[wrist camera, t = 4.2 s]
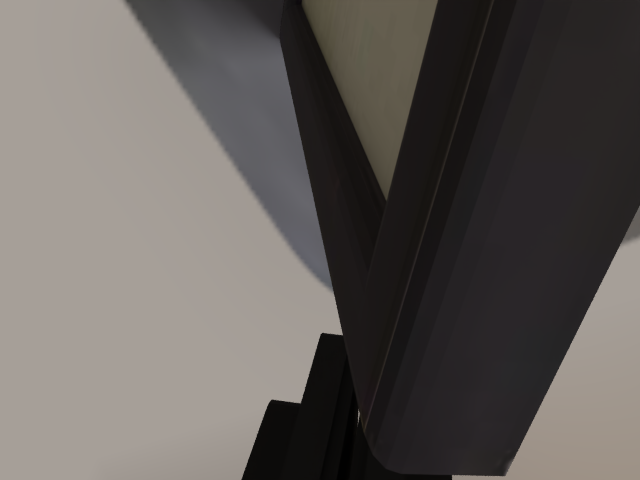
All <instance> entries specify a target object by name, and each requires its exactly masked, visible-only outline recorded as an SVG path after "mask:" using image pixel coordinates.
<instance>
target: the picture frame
mask: <svg viewBox="0 0 640 480" xmlns="http://www.w3.org/2000/svg"><path fill="white" fill-rule="evenodd" d="M280 43H281V47H282V52H283V57H284V61H285V66H286V71H287V76H288V80H289V85H290V90H291V94H292V99H293V104H294V108H295V113H296V118H297V122H298V127H299V132H300V136H301V141H302V146H303V150H304V155H305V160H306V164H307V169H308V174H309V178H310V183H311V188H312V192H313V197H314V202H315V207H316V211H317V216H318V221H319V225H320V230H321V235H322V239H323V244H324V249H325V253H326V258H327V263H328V267H329V272H330V277H331V281H332V286H333V291H334V295H335V300H336V305H337V309H338V314H339V318H340V324H341V328H342V333H343V338H344V342H345V347H346V352H347V356H348V361H349V366H350V370H351V375H352V380H353V384H354V389H355V394H356V398H357V403H358V408H359V412H360V417H361V422H362V426H363V431H364V435H365V437H366V440H367V442H368V445H369V447H370V450H371V452H372V454H373V456H374V457H375V458H376V459H377V460H378V461H379V462H380V463H381V464H382V465H383V466H384V468H385V469H388V470H391V471H394V472H397V473H400V474H429V475H476V476H506V473H507V472H508V469H509V467H510V466H511V463H512V462H513V459H514V457H515V455H516V453H517V451H518V449H519V447H520V445H521V443H522V441H523V439H524V437H525V435H526V433H527V431H528V429H529V427H530V425H531V423H532V421H533V419H534V417H535V415H536V413H537V411H538V409H539V407H540V405H541V403H542V401H543V399H544V397H545V395H546V393H547V391H548V389H549V387H550V385H551V383H552V381H553V379H554V377H555V375H556V373H557V371H558V369H559V367H560V365H561V363H562V361H563V359H564V357H565V355H566V353H567V351H568V349H569V347H570V344H571V343H572V341H573V339H574V337H575V335H576V333H577V331H578V329H579V327H580V325H581V322H582V321H583V319H584V316H585V314H586V312H587V310H588V308H589V306H590V304H591V302H592V300H593V298H594V296H595V294H596V292H597V290H598V288H599V286H600V284H601V282H602V280H603V278H604V276H605V274H606V272H607V270H608V268H609V266H610V264H611V262H612V260H613V258H614V256H615V254H616V252H617V250H618V248H619V246H620V244H621V242H622V240H623V238H624V236H625V234H626V232H627V230H628V228H629V226H630V224H631V222H632V220H633V218H634V216H635V214H636V212H637V210H638V208H639V206H640V0H284V6H283V14H282V21H281V29H280Z"/></svg>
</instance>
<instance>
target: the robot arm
mask: <svg viewBox="0 0 640 480" xmlns="http://www.w3.org/2000/svg"><path fill="white" fill-rule="evenodd" d="M358 410H359V408H358V403H357V398H356V394H355V389H354V384H353V380H352V375H351V370H350V366H349V361H348V356H347V352H346V347H345V342H344V338H343V335H335V334H327V333H322V334H321V336H320V339H319V342H318V345H317V349H316V352H315V356H314V359H313V363H312V367H311V370H310V374H309V377H308V380H307V384H306V387H305V391H304V394H303V398H302V401H301V404H300V403H293V402H285V401H278V400H271V401H270V402H269V404H268V406H267V409H266V411H265V414H264V417H263V420H262V423H261V426H260V428H259V431H258V434H257V437H256V440H255V443H254V446H253V449H252V451H251V454H250V457H249V460H248V463H247V466H246V468H245V471H244V474H243V477H242V480H452V475H429V474H400V473H397V472H394V471H391V470H388V469H385V468H384V466H383V465H382V464H381V463H380V462H379V461H378V460H377V459H376V458H375V457H374V456H373V454H372V452H371V450H370V447H369V445H368V442H367V440H366V437H365V435H364V431H363V426H362V422H361V417H360V416H359V422H358Z"/></svg>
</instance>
